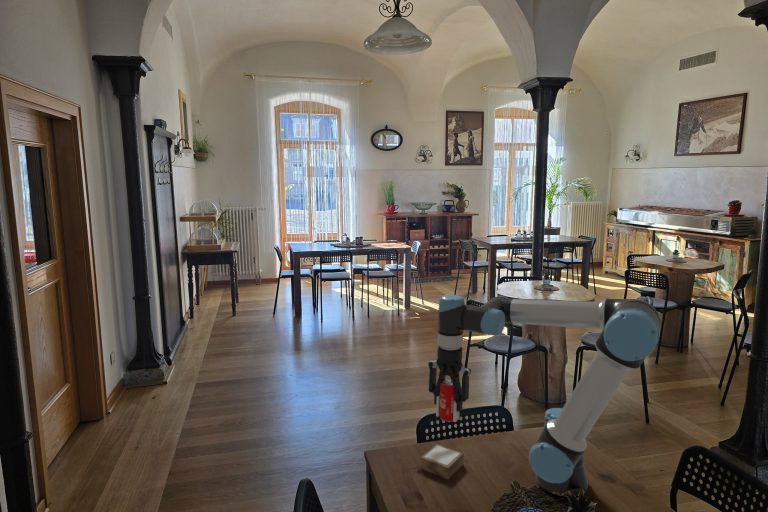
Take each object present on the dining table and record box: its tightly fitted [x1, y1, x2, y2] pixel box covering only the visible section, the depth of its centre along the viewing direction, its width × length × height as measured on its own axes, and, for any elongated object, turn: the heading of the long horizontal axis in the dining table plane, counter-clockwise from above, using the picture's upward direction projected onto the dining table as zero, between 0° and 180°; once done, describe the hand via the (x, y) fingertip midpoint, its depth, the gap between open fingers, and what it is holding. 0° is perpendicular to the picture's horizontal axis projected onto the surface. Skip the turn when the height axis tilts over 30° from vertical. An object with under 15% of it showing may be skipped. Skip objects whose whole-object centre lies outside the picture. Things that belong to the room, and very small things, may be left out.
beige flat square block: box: [420, 443, 464, 480], centre depth 166 cm, size 10×10×4 cm
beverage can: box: [439, 378, 456, 423], centre depth 158 cm, size 5×5×12 cm
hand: (447, 417), depth 159 cm, fingers closed on beverage can, 5 cm apart
